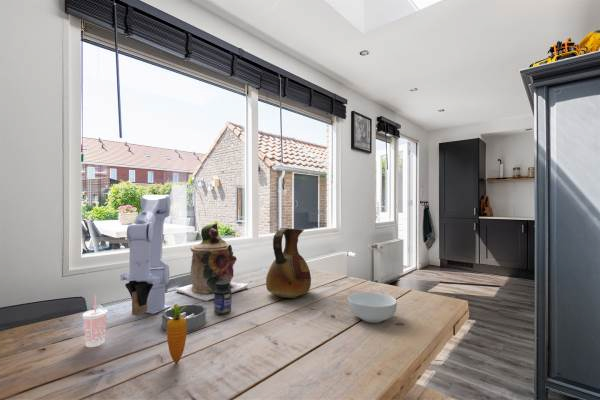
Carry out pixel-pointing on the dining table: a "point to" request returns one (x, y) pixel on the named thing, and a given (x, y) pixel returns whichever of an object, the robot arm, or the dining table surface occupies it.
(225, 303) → the pill bottle
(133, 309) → the tan wooden plank
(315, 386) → the dining table surface
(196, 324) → the grey ashtray
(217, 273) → the cookie jar
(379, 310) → the cereal bowl
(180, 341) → the carrot
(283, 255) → the ceramic pitcher
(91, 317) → the beverage cup
